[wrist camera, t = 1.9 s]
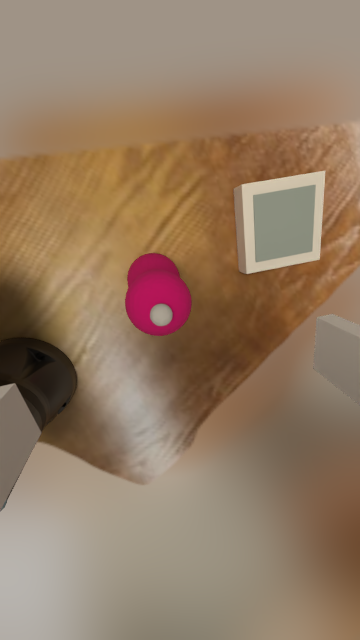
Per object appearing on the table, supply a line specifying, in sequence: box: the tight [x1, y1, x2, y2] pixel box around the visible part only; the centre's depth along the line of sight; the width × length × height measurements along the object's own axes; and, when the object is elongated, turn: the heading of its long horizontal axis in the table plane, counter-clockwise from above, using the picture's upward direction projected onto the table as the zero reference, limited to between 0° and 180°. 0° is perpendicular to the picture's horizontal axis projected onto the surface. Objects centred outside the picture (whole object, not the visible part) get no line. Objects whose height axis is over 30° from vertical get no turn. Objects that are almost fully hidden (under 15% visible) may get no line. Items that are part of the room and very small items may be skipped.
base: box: [233, 171, 325, 274], centre depth 34 cm, size 12×12×3 cm
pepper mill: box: [125, 253, 191, 336], centre depth 26 cm, size 7×7×20 cm
